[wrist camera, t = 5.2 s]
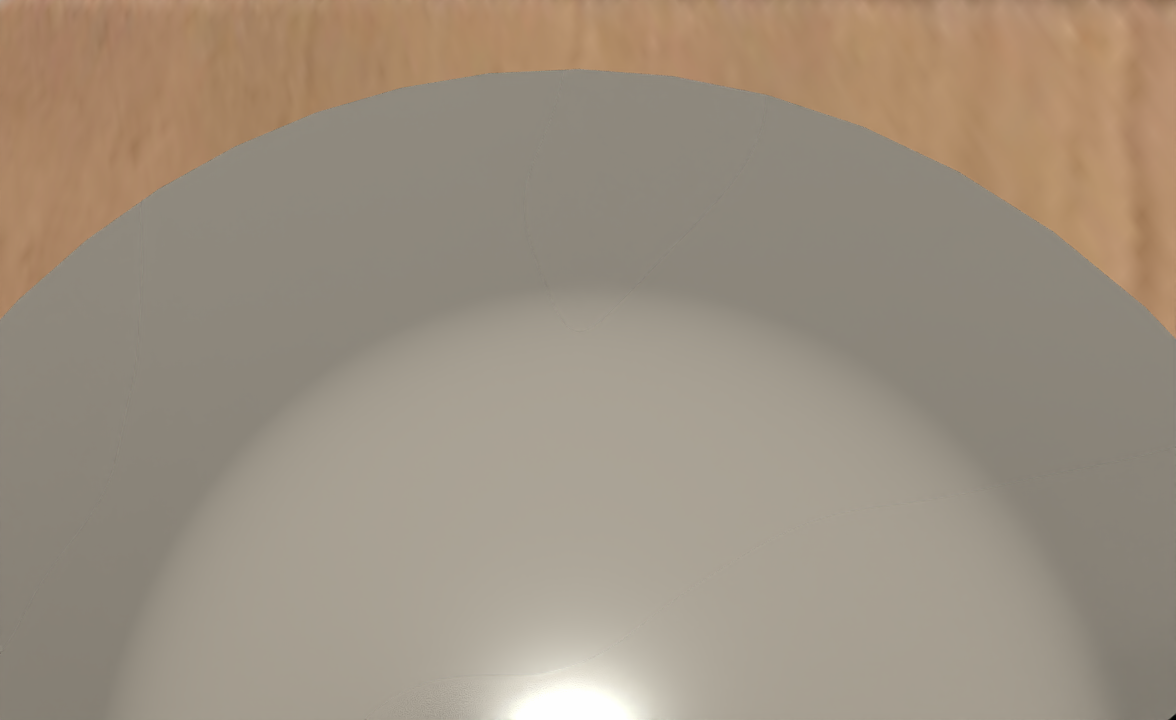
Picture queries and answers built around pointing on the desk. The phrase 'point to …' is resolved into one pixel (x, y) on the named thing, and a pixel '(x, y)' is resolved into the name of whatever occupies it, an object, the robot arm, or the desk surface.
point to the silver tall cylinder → (583, 430)
